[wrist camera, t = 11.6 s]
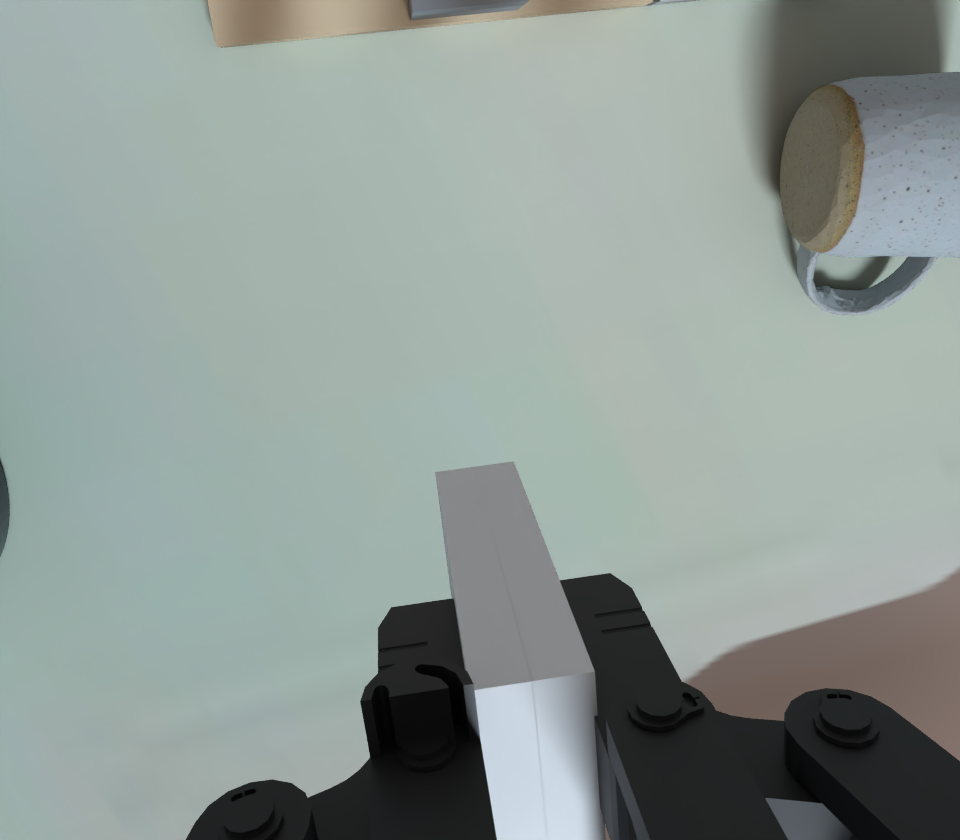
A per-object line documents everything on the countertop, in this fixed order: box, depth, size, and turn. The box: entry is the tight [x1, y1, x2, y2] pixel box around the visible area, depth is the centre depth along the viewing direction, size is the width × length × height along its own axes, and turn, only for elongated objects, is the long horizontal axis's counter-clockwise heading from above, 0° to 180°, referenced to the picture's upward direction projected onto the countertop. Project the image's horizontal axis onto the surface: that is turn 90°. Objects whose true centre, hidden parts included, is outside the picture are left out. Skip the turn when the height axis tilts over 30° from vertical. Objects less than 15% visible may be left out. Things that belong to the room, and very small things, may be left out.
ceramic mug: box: [780, 72, 960, 315], centre depth 37 cm, size 11×8×8 cm
